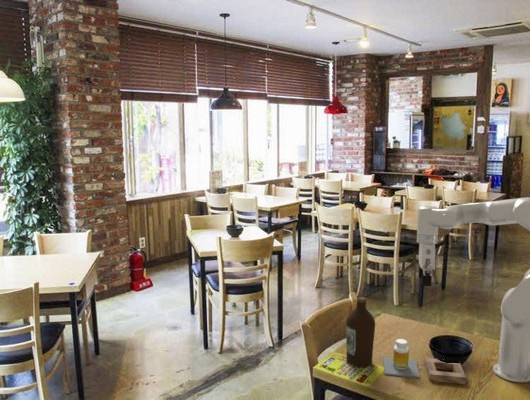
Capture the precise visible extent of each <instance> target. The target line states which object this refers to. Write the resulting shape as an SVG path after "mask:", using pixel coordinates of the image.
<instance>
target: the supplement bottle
mask: <svg viewBox="0 0 530 400" xmlns="http://www.w3.org/2000/svg"><path fill="white" fill-rule="evenodd" d="M392 353H393V355H392V356H393V357H392V358H393V366H394V367H395V368H397V369H401V370H404V369H407V368H408V360H410V359H409V358H410V348H409V347H408V341H407V340H406V339H404V338H398V339H395V345H394V346H393V352H392Z"/></svg>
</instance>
